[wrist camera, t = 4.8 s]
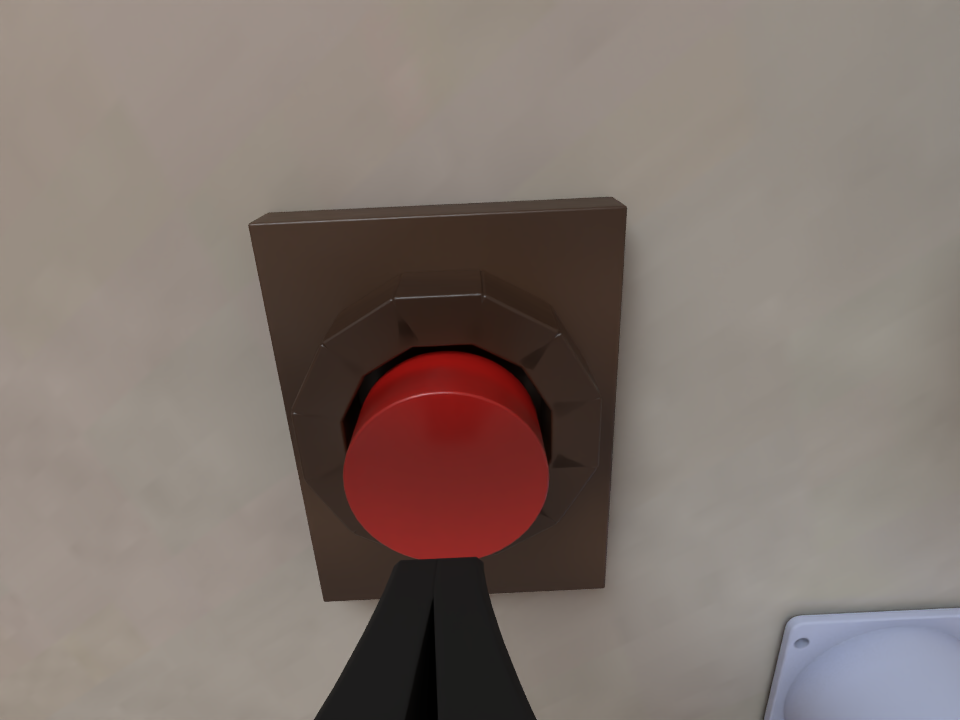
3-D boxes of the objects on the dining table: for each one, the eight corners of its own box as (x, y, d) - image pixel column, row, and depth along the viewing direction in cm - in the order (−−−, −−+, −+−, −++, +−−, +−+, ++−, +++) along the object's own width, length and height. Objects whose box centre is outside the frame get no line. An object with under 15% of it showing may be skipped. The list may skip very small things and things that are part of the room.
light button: (538, 500, 15) (549, 559, 13) (370, 508, 15) (356, 568, 13) (537, 344, 14) (550, 386, 12) (348, 354, 14) (327, 397, 12)
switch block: (595, 555, 20) (620, 642, 17) (333, 568, 20) (307, 657, 17) (613, 196, 15) (652, 222, 12) (266, 212, 15) (213, 242, 12)
